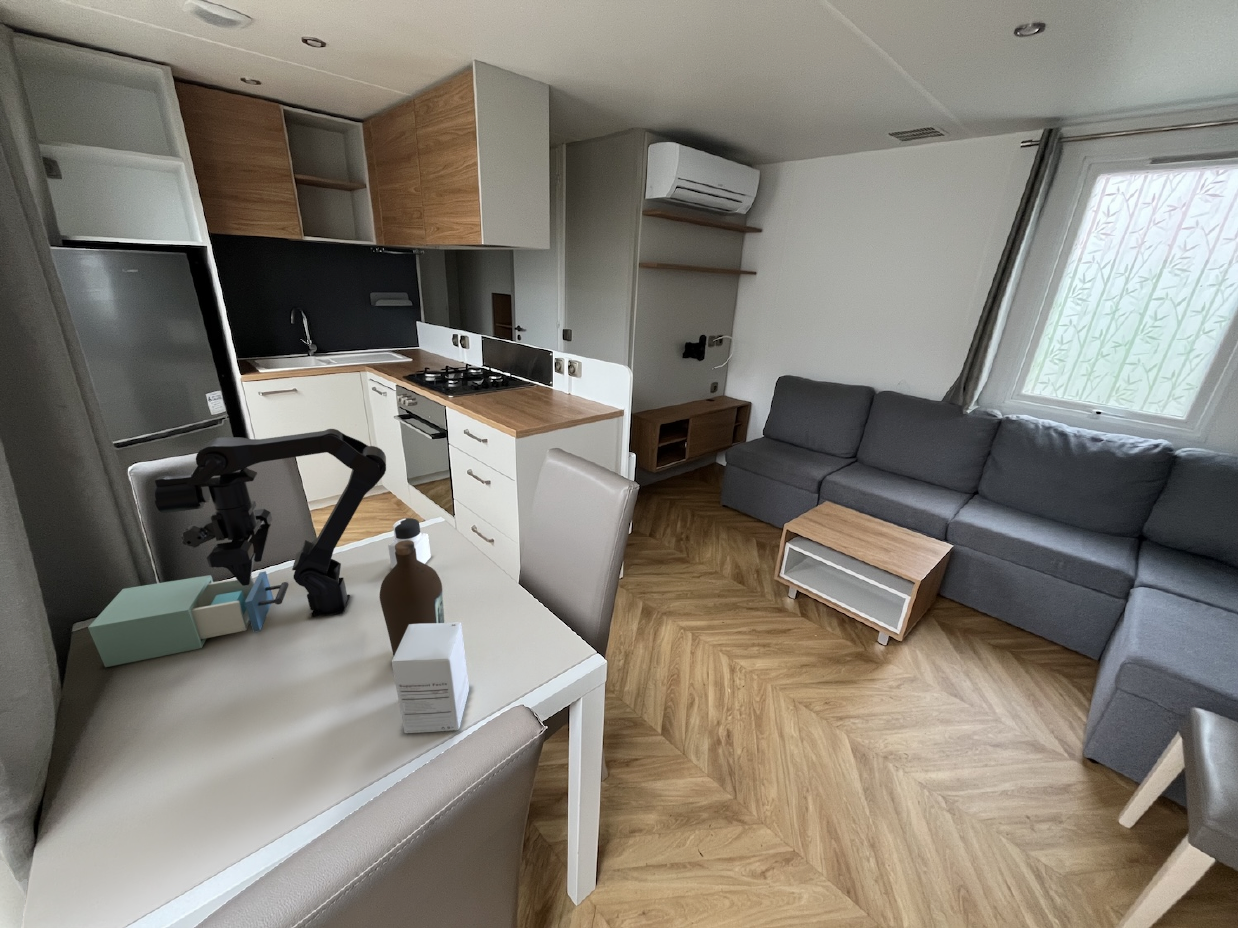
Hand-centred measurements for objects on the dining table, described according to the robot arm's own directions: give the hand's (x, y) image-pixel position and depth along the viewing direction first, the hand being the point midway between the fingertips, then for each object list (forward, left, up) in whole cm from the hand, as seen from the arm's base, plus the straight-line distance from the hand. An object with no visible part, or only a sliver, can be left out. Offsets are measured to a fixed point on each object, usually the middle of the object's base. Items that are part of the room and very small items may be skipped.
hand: (252, 572), depth 101 cm
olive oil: (-33, +19, -12) cm, 40 cm away
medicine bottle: (-27, -17, -12) cm, 34 cm away
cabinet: (+17, +1, -12) cm, 21 cm away
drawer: (+5, 0, -11) cm, 12 cm away
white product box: (-37, +33, -12) cm, 51 cm away
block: (+6, 0, -10) cm, 12 cm away
